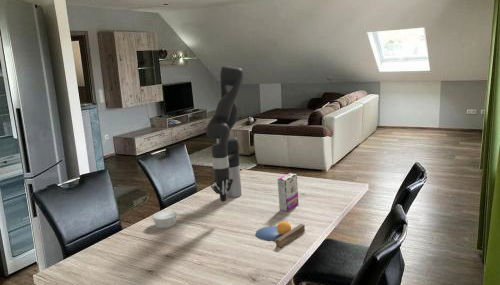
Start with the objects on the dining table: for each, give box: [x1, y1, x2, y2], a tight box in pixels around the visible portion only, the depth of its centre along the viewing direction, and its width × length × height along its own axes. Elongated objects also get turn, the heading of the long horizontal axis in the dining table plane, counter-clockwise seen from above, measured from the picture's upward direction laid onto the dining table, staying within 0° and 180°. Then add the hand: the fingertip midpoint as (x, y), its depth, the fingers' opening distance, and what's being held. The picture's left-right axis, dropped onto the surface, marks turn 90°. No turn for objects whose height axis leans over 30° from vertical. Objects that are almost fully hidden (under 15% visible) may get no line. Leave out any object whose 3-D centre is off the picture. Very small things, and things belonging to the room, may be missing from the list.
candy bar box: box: [277, 172, 300, 212], centre depth 197 cm, size 11×5×16 cm, turn 143°
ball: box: [277, 220, 292, 235], centre depth 167 cm, size 6×6×6 cm
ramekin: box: [152, 209, 177, 229], centre depth 186 cm, size 11×11×5 cm
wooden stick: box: [275, 223, 306, 249], centre depth 163 cm, size 2×18×3 cm, turn 140°
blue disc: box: [255, 225, 282, 242], centre depth 170 cm, size 14×14×1 cm
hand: (223, 201), depth 185 cm, fingers closed
